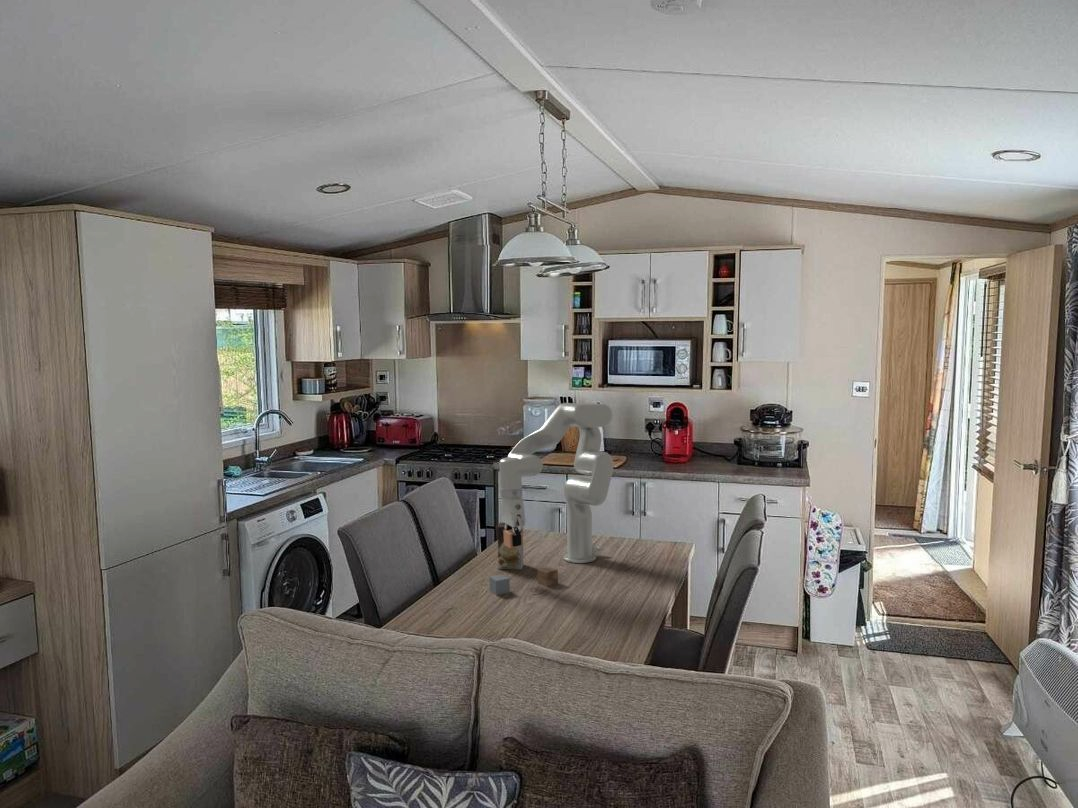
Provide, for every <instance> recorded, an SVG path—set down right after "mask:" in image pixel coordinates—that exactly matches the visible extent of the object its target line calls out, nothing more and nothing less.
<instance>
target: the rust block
mask: <svg viewBox="0 0 1078 808" xmlns="http://www.w3.org/2000/svg"><path fill="white" fill-rule="evenodd" d="M515 531H516V529H515ZM512 535H513V529H511V530H506V531H504V545H505V546H507V547H509V548H515V547H520V546H523V547H524V531H523V532H522V534H521V543H522V545H520V546H515V547H514V546H513V541H512Z"/></svg>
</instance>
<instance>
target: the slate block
mask: <svg viewBox="0 0 1078 808" xmlns="http://www.w3.org/2000/svg"><path fill="white" fill-rule="evenodd" d="M510 589H511V588H510V577H508V576H507V575H505V574H504V573H502V574H497V575H491V576H489V591H490V592H491V593H492V594H493V595H495V596H500V595H504V594H509V593H510V592H511V590H510Z"/></svg>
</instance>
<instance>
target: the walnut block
mask: <svg viewBox="0 0 1078 808" xmlns="http://www.w3.org/2000/svg"><path fill="white" fill-rule="evenodd" d="M558 571H559V570H558V568H554V567H552V566H549V565H548V566H545V567H541V568H538V569H537V584H539V585H542V586H544V587H550V586H553V585H557V584H559V572H558Z"/></svg>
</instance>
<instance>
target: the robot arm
mask: <svg viewBox="0 0 1078 808" xmlns="http://www.w3.org/2000/svg"><path fill="white" fill-rule="evenodd" d="M612 419H613V411H612V409H611V408H610V406H609V405H607V404H605V403H593V402H578V403H573V402H572V403H571V402H563V403H560V404H559V405H557V407H556V408H554V410H553V412H552V413H551V414H550V415H549V417H548V418H547V419H546V420H545V422H544V423H543V424H542V425H541V426H540V428H539V429H537V430H536V431H534V432H532V433H530V434H529V435H527V436H525V437H523V438H522V439H521V440H519V442H518V443H516V445H514V447H513V448H512V450H511V451H510V452H509V453H508V455H507V457H504V458H501V459H500V460H499V463H498V464H499V485H500V489H499V490H500V498H501V504H500V505H501V507H500V509H501V510H500V511H501V521H502V523H504V526H505V528H504V530H505V531H506V530H511V529H513V535H512V541H513V546H514V547H515V546H520V545H522V543H521V534H522V530H523V531H524V526H525V525H526V515H525V505H524V504H525V503H524V500H523V484H522V483H523V481H522V479H523V478H525V477H535V476H536V477H537V475H539V474H540V473H541V472H542V470H543V467H544V463H543V461H542V459H541V458H540V457H539V456H537V455H535V454H534V453H537V452H538V451H541V450H544V449H547V448H548V449H549V448H551V447H554V446H557V444H559V443H560V442H561V440H562V439H563V437H564V436H565V435H566V433H567V432H568V431H569V430H570V428H574V427H577V429H578V432H579V437H578V438H579V439H578V444H577V448H576V452H575V456H574V462H573V468H574V470H575V472H577V473H579V474H582V475H587V476H591V478H588V477H582V476H572V477H569V478H568V479H567V480H566V481H565V482H564V484H563V485H564V486H563V495H564V500H565V505H566V538H567V539H566V540H567V541H566V545H567V547H566V548H567V552H566V553H564V554H563V557H562V558H563V560H565V561H566V562H567V563H574V564H586V563H592V562H594V561H595V560H597V554H596V553H597V552H603V551H604V546H603V545H598V546H597V545H593V514H592V509H591V506H594V507H595V506H596V507H597V506H601V505H603V504H604V503H605V502H606V500H607V497H608V493H609V489H610V485H611V480H612V475H613V471H614V461H613V458H612V456H611V455H610V454H609V453H608V452H605V451H601V444H602V434H601V429H600V428H603V427H607V426H608V425H609V424H610V423H611V421H612ZM515 524H518V526H516V525H515ZM515 528H518V529H516V531H515Z"/></svg>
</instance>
